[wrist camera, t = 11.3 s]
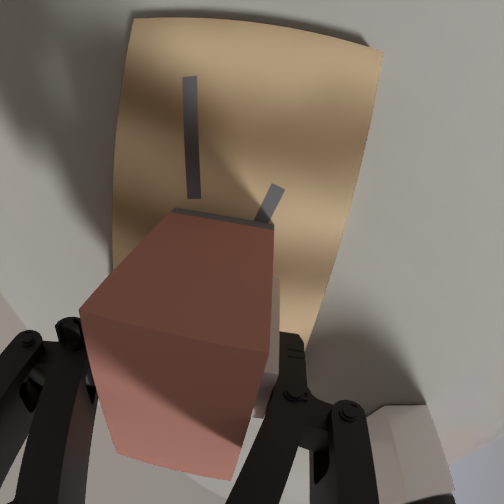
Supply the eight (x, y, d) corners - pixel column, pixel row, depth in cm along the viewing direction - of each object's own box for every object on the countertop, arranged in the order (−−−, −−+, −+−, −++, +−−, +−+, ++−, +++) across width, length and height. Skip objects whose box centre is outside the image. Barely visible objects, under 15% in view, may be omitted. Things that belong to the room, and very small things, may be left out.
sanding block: (174, 207, 16) (78, 309, 7) (274, 224, 15) (269, 352, 7) (168, 331, 19) (117, 453, 11) (248, 348, 19) (230, 480, 11)
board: (143, 23, 13) (133, 18, 11) (375, 55, 13) (383, 51, 12) (128, 355, 22) (122, 365, 21) (286, 387, 22) (286, 399, 21)
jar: (336, 417, 23) (349, 547, 12) (428, 388, 22) (470, 510, 11) (351, 459, 26) (361, 558, 16) (425, 436, 25) (450, 532, 14)
